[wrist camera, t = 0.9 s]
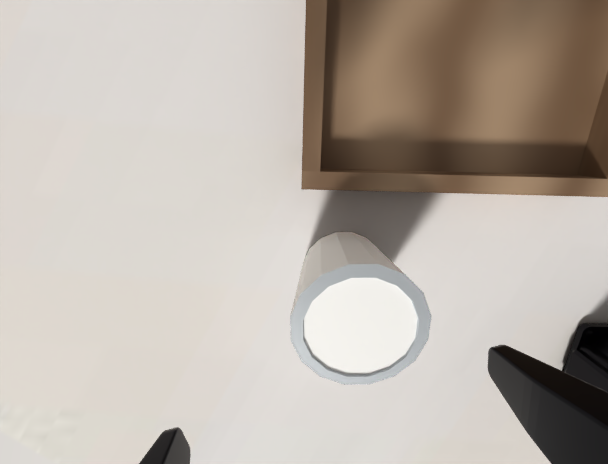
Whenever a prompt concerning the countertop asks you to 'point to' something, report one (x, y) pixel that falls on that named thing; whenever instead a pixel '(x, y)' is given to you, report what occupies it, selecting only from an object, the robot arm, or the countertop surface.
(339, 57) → the walnut tray
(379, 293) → the white cup
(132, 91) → the countertop surface
